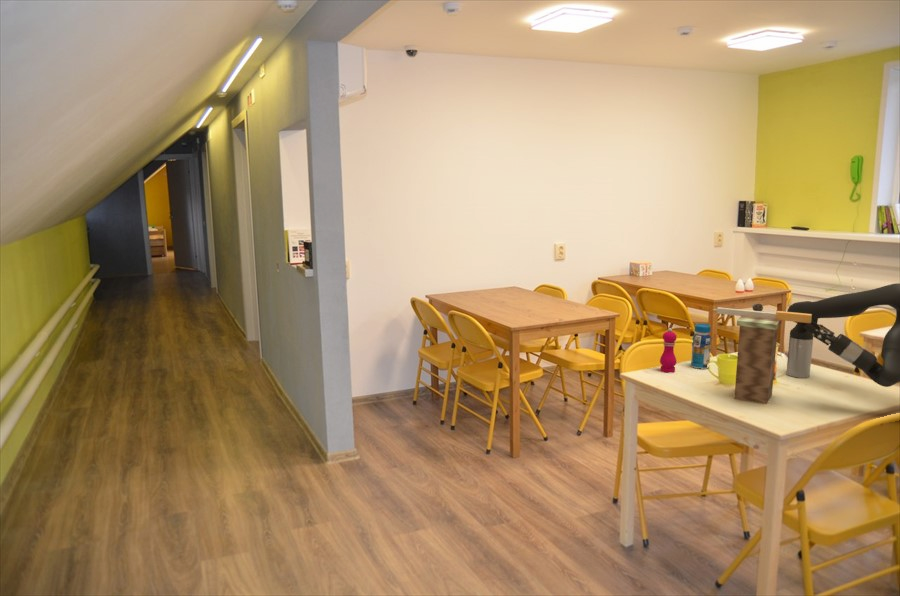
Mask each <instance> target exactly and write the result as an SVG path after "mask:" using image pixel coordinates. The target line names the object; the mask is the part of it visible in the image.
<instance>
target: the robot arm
mask: <svg viewBox="0 0 900 596" xmlns="http://www.w3.org/2000/svg"><path fill="white" fill-rule="evenodd" d="M878 306H890V307H891V308H893V309H894V310H895V313H896V314H895V321H894V323H893V325H892V326H891V328H889V330H888V331H887V332H886V334H885V336H884V338H883V342H882V345H881V346H882V347H881V351H880V357H881V359H882V361H883V362H882V364H881V363H880V362H878V359H877V356H875V354H873V353H872V352H870V351H868V350H867V349H866V348H863V347H862V346H861V345H860V344H859V343H857V342H856V341H854V340H853V339H851V338H849V337H848V336H846V335H844V334H843V333H840V334H838V335H837V336H836V335H835V332H834V331H831V330H830V329H829V328H827V327H825V326H824V325H823V324H818V322H819V319H837V318H849V317H855V316H859V315H861V314H863V313H864V312H866V311H868V309H869V308H872V307H878ZM786 312H794V313H805V314H812V318H811V323H803V322H794V323H795V326H794V327H793V328H791V330H790V331H789V339H788V353H787V362H786V372H785V373H787V374H786V375H787V376H788V377H789V376H790V377H793V378H798V379H799V378H801V379H805V378H806V377H807V378H809V377H810V376H811V364H812V355H813V354H812V353H813V346H814V345H813V344H814V338H815V339H817V340H818V341H819V342H822V343H823V344H824V345H826V346H828V348H827V349H828V351H830V352H831V353H833V354H834V355H836V356H838V357H839V358H841V359H842V360H844V361H845V362H848V363H850V364H852V366H854V367H856V368H857V369H859V370H861V371H862V372H864V374H865V375H866V376H867V377H868V378H870V380H872V381H873V382H874V383H875V384H877V385H879V386H881V387H885V388H889V387H893V386H894V385H896V384H899V383H900V283H898V282H897V283H891V284H888V285H884V286H880V287H876V288H874V289H873V288H872V289H868V290H867V289H866V290H862V291H857V292H852V293H851V292H850V293H843V294H840V295H839V294H838V295H836V296H835V295H834V296H829V297H827V298H823V299H820V300H816V301H810V300H806V301H797V302H794V303H792V304H791V305H789V306H788V308H787V309H786Z"/></svg>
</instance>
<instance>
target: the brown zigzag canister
mask: <svg viewBox="0 0 900 596" xmlns="http://www.w3.org/2000/svg"><path fill="white" fill-rule="evenodd" d="M782 321H783V320H776V319H766V318H756V317H746V316H739V318H738V319H737V320H736V326H738V327H739V335H738V345H737V359H736V372H735V386H734V395H733V396H734V397H733V398H734V399H735V400H741V401H747V402H752V401H753V403H758V402H759V403H758V404H764V403H765V404H766V405H768V404H767V403H769V402H768V401H770V400H771V397H772V396H773V388H774V376H775V365H776V354H777V353H776V352H777V342H778V341H777V340H778V331H779V326H780V325H781V324H782ZM765 404H764V405H765Z"/></svg>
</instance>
